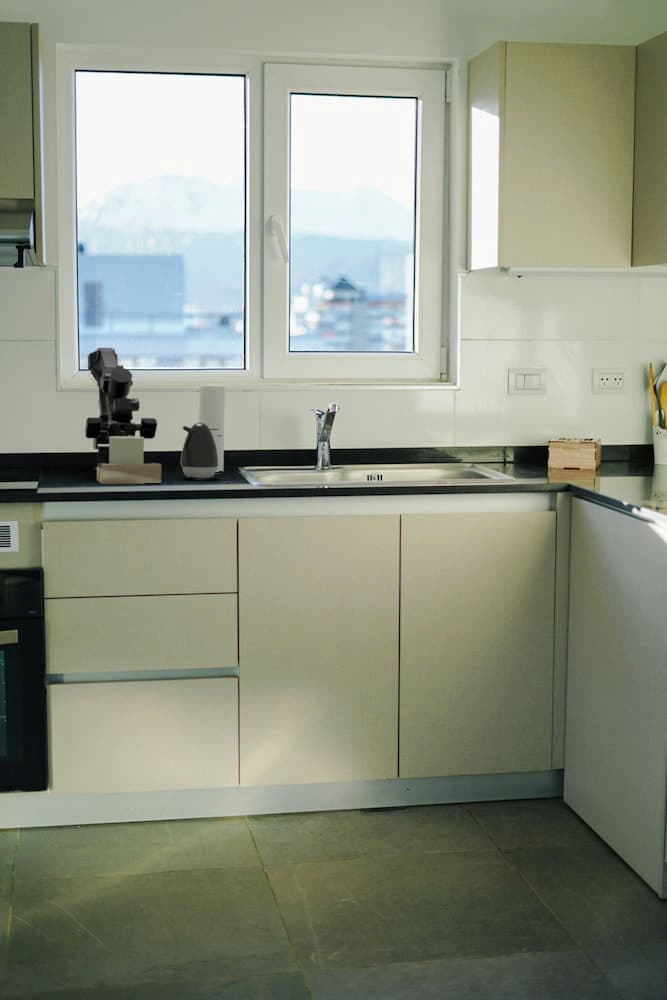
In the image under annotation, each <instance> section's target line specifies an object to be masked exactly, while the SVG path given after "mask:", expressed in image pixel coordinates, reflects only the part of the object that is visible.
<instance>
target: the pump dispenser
mask: <svg viewBox="0 0 667 1000" xmlns="http://www.w3.org/2000/svg"><path fill="white" fill-rule="evenodd" d="M182 430H183V431H185V432H186V433H187V435H186V437H185V440H184V443H183V446H182V452H181V456H180V466H181V469H182V472H183V474H184V475H185V476H186V477H187V478H188V477H194V478H209V479H211V478H213V477H214V475H215V474H216V473H215V472H216V470H217V466H218V454H217V448H216V444H215V441H214V438H213V435H212V433H211V431H210V429H209V427H208V426H207V425H205V424H203V423H199V422H197V423H194V424H193V425H192V426H191V427H189V426H186V425H184V426H183V427H182ZM210 477H211V478H210Z"/></svg>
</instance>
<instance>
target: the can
mask: <svg viewBox="0 0 667 1000" xmlns="http://www.w3.org/2000/svg"><path fill="white" fill-rule="evenodd" d="M144 441H145V439H144V437H140V436H136V435H135V436H111V437H109V444H108V446H109V464H144V447H145V446H144V444H145V443H144Z"/></svg>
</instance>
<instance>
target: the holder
mask: <svg viewBox="0 0 667 1000" xmlns="http://www.w3.org/2000/svg"><path fill="white" fill-rule="evenodd" d="M96 468H97V470H96V481H98V482H99V483H100V484H102V485H131V484H132V485H140V484H141V485H142V484H143V485H145V483H161V484H162V464H161V463H157V462H151V463H143V464H105V463H99V467H98V466H96Z"/></svg>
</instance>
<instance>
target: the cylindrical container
mask: <svg viewBox="0 0 667 1000" xmlns="http://www.w3.org/2000/svg"><path fill="white" fill-rule="evenodd" d="M225 389H226V388H225V385H215V384H213V385H211V384H206V385H205V384H203V385H199V409H198V411H199V412H198V413H199V417H198V421H199V422H198V423H203V424H205V425H207V426H208V427H209V429H210V431H211V433H212V435H213V438H214V441H215V444H216V448H217V454H218V466H217V470H216V472H219V471H223V472H224V460H225V459H224V452H225V448H224V446H225V444H224V443H225V441H224V440H225V435H224V434H225V398H226V397H225V393H226V391H225Z"/></svg>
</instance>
